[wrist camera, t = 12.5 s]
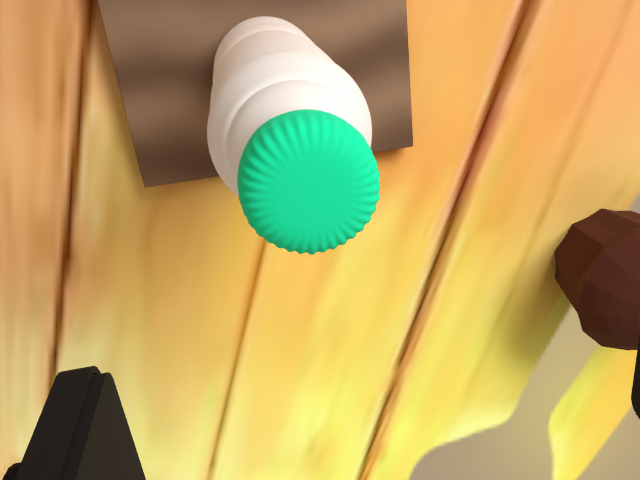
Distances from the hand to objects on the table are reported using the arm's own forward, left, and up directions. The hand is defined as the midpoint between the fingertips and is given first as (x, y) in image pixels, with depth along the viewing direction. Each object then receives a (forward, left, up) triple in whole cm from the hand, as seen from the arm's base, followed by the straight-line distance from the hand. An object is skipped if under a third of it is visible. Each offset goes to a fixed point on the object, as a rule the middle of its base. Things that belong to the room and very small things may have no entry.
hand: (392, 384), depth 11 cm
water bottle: (0, 0, -35) cm, 35 cm away
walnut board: (0, 0, -36) cm, 36 cm away
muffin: (+20, +27, -36) cm, 50 cm away
